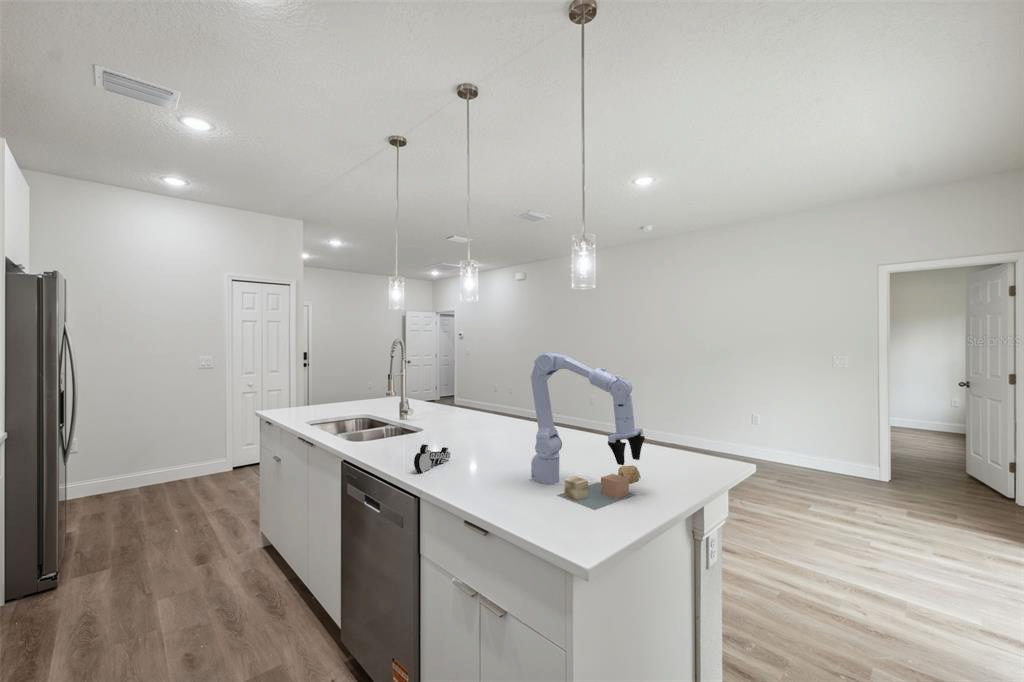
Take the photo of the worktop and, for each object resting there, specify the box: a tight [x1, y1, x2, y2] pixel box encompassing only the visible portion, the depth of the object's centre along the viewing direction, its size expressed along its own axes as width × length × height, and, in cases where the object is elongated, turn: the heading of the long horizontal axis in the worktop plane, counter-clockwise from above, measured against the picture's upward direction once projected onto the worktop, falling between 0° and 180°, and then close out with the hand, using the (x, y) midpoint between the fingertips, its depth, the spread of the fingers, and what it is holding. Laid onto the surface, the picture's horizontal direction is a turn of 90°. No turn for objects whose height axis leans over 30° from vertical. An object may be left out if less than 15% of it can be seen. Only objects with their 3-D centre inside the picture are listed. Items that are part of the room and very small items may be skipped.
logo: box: [413, 443, 451, 473], centre depth 165 cm, size 21×2×10 cm, turn 157°
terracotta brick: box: [600, 473, 630, 499], centre depth 134 cm, size 6×6×5 cm
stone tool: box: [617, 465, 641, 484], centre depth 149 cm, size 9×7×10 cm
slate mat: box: [556, 481, 637, 511], centre depth 133 cm, size 15×20×1 cm
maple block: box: [563, 475, 589, 501], centre depth 132 cm, size 5×5×5 cm
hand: (628, 461), depth 134 cm, fingers open, 7 cm apart
